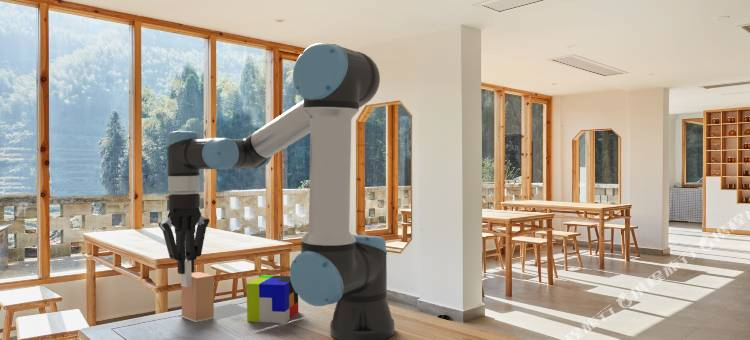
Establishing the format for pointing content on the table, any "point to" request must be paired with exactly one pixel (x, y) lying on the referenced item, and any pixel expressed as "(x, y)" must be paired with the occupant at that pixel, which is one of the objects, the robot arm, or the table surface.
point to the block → (199, 298)
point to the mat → (224, 312)
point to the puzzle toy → (271, 299)
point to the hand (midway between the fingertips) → (186, 285)
